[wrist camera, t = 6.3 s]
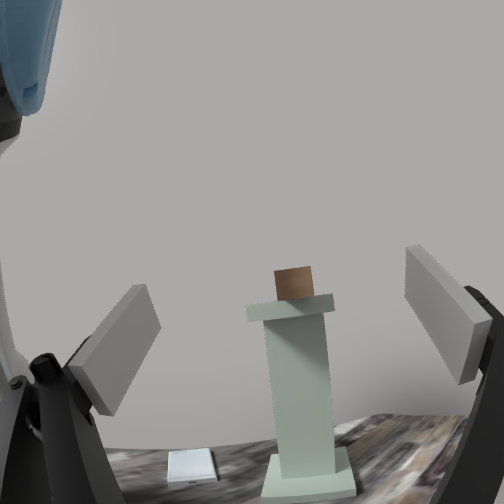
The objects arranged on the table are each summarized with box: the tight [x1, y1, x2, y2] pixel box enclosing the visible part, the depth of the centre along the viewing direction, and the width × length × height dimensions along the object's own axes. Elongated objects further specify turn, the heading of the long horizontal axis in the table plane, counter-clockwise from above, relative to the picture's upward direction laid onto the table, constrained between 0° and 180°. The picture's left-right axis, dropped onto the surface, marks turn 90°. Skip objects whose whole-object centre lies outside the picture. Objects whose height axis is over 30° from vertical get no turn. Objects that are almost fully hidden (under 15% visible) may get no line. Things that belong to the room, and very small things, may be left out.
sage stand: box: [246, 294, 356, 504], centre depth 40 cm, size 13×16×29 cm
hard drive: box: [168, 448, 218, 486], centre depth 45 cm, size 2×8×12 cm
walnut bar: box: [274, 266, 314, 301], centre depth 37 cm, size 3×24×2 cm, turn 171°
